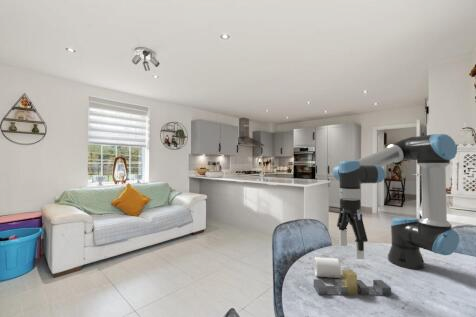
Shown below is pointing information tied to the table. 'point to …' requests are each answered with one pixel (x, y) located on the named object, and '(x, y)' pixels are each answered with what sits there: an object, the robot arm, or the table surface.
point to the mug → (327, 267)
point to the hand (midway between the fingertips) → (351, 251)
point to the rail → (362, 289)
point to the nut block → (350, 280)
